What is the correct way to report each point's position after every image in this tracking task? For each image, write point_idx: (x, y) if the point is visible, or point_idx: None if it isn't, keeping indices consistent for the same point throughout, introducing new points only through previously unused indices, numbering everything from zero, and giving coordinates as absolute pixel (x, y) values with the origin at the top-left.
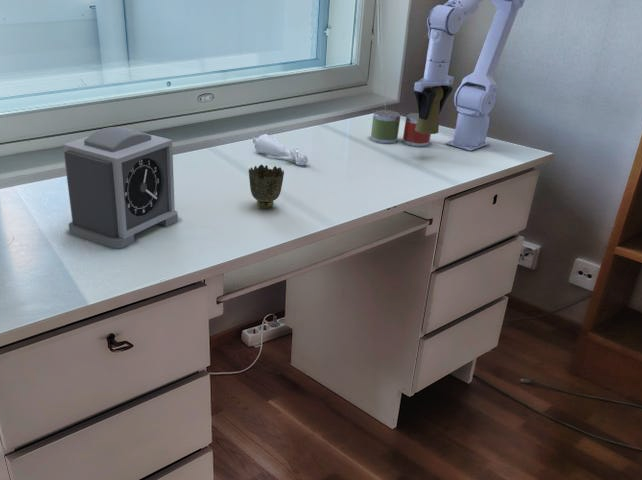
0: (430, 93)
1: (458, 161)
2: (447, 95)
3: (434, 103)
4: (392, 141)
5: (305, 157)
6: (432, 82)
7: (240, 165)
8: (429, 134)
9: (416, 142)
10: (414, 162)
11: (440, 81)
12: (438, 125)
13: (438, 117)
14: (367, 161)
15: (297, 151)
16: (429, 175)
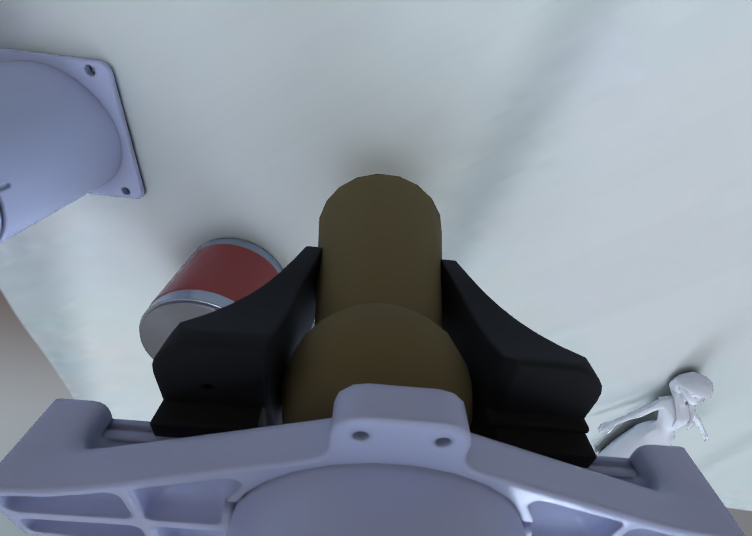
0: (598, 388)
1: (300, 26)
2: (246, 311)
3: (422, 307)
4: (312, 325)
5: (710, 388)
6: (530, 511)
7: (741, 440)
8: (212, 260)
9: (273, 268)
10: (461, 174)
11: (475, 490)
12: (361, 196)
13: (369, 224)
14: (553, 288)
15: (632, 418)
16: (607, 28)
